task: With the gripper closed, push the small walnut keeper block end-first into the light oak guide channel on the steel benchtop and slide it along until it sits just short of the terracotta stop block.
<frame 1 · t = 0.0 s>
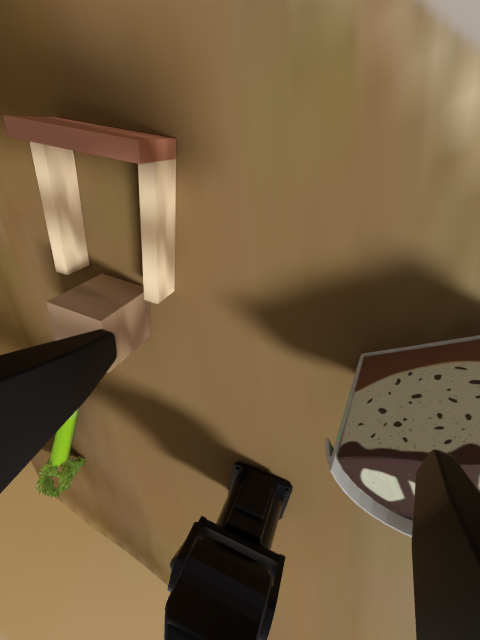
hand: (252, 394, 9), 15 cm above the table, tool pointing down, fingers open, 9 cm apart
food container: (442, 377, 22), on the table
channel: (119, 218, 25), on the table
leek: (76, 411, 44), on the table
keeper: (127, 304, 30), on the table
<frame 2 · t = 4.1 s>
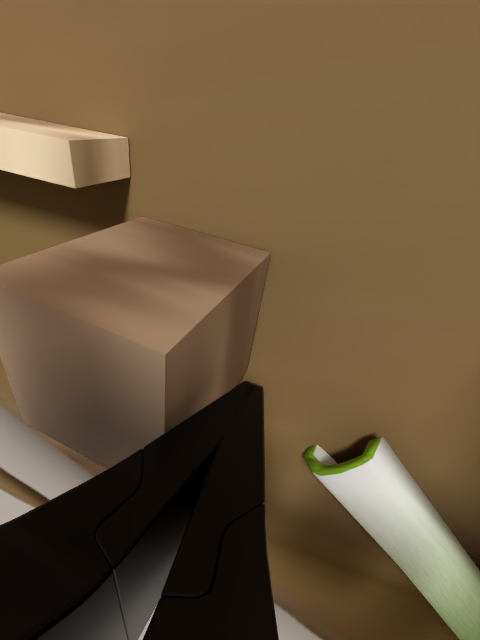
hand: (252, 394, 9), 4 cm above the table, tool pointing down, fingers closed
channel: (39, 245, 14), on the table
keeper: (198, 295, 13), on the table, touching gripper
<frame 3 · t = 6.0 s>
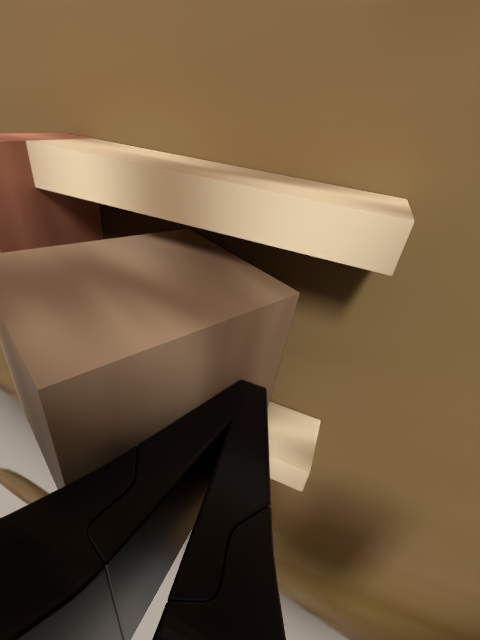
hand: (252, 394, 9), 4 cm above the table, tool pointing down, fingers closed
channel: (216, 307, 12), on the table
keeper: (226, 324, 11), point 1 cm above the table, tilted 27°, touching gripper
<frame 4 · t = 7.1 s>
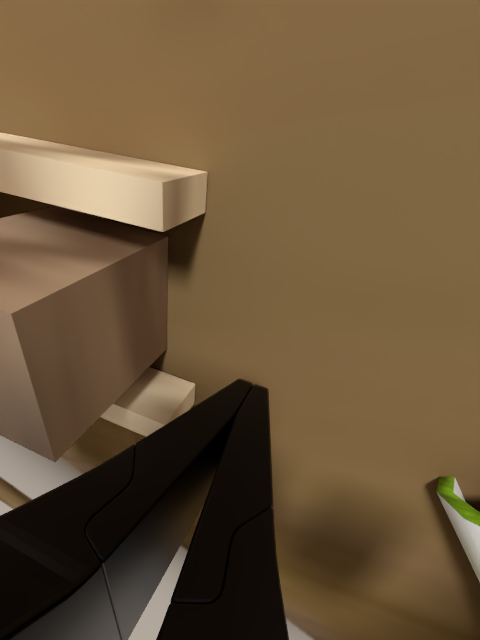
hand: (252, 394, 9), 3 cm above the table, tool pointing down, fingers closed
channel: (92, 279, 14), on the table
keeper: (114, 281, 13), on the table
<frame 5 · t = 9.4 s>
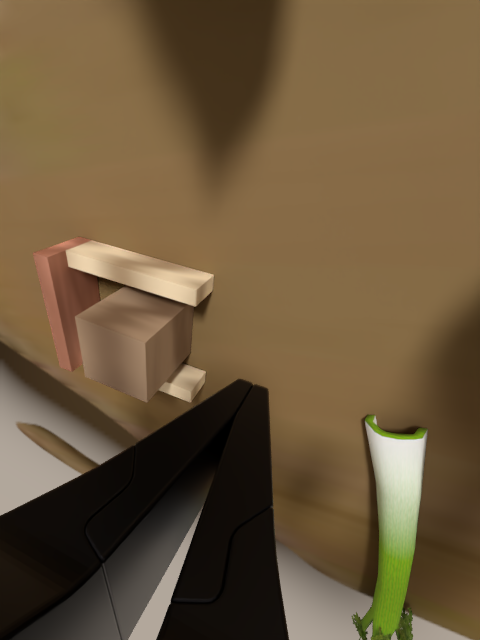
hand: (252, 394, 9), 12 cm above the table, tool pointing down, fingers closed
channel: (151, 315, 26), on the table
leek: (383, 536, 29), on the table
keeper: (164, 317, 25), on the table
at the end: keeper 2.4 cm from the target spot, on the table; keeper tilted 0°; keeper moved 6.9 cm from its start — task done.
